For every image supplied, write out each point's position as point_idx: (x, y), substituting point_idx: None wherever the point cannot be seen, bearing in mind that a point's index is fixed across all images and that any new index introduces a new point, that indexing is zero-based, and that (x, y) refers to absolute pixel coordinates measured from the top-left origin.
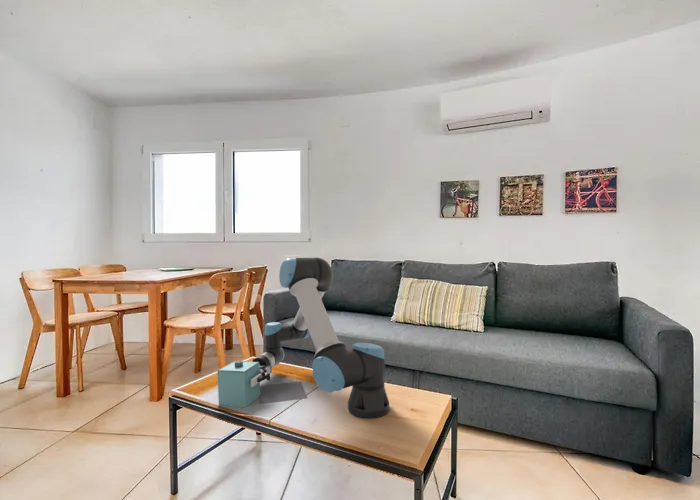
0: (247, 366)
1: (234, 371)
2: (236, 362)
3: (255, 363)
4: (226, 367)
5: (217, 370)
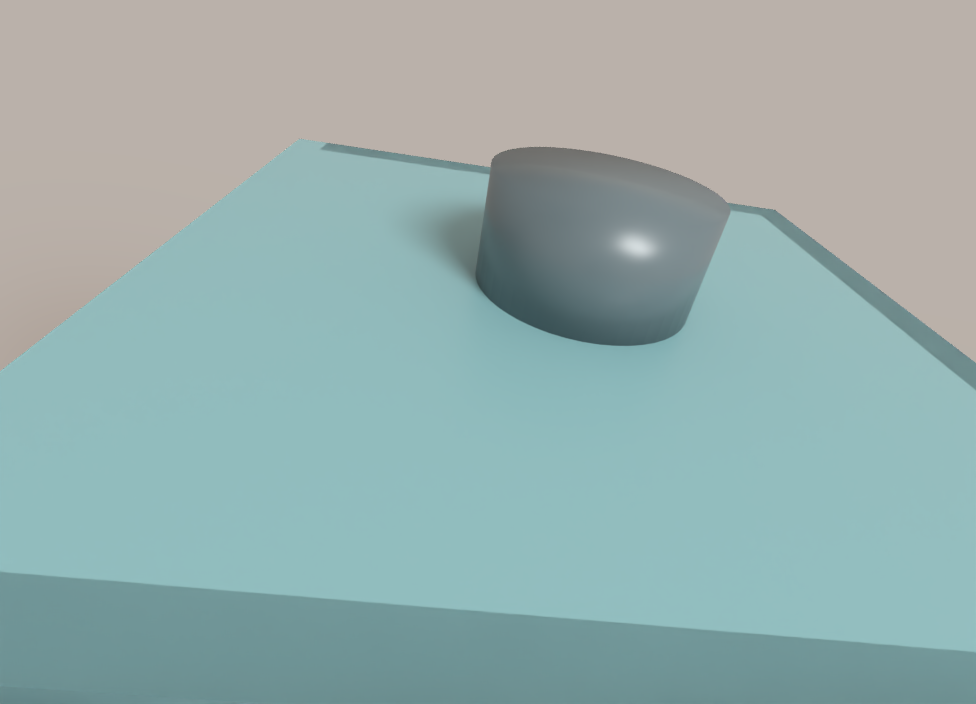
0: (315, 248)
1: (474, 169)
2: (651, 179)
3: (20, 415)
4: (780, 263)
5: (773, 211)
